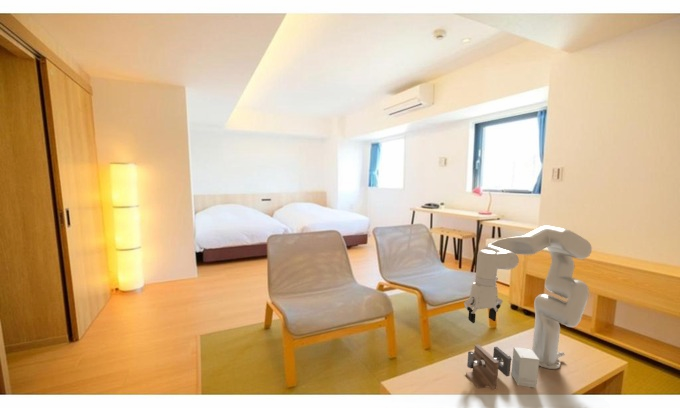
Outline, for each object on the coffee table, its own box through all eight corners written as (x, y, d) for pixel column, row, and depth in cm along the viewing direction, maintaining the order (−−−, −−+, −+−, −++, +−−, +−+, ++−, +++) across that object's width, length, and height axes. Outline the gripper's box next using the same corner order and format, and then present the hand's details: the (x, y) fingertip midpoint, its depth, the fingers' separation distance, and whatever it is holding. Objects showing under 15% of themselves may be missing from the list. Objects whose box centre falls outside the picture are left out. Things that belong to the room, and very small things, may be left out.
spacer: (495, 363, 130) (497, 346, 129) (509, 375, 122) (511, 358, 121) (492, 363, 129) (494, 347, 128) (506, 376, 122) (508, 358, 120)
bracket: (476, 369, 130) (478, 344, 129) (496, 389, 119) (498, 362, 117) (462, 371, 129) (464, 346, 127) (481, 392, 117) (483, 364, 116)
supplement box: (537, 388, 120) (540, 359, 118) (517, 385, 121) (520, 357, 119) (529, 375, 127) (532, 348, 125) (510, 373, 128) (513, 346, 127)
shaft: (507, 358, 127) (508, 345, 126) (511, 362, 125) (512, 349, 124) (466, 364, 123) (466, 351, 122) (469, 368, 120) (470, 355, 120)
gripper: (497, 276, 123) (493, 314, 126) (460, 278, 120) (457, 317, 122) (510, 283, 116) (506, 323, 118) (472, 285, 113) (469, 327, 115)
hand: (481, 320), depth 120 cm, fingers open, 9 cm apart
